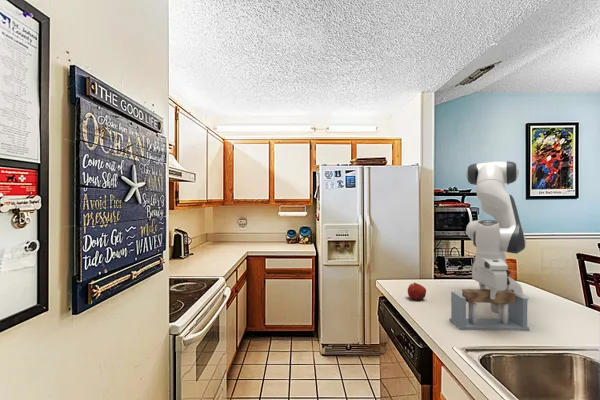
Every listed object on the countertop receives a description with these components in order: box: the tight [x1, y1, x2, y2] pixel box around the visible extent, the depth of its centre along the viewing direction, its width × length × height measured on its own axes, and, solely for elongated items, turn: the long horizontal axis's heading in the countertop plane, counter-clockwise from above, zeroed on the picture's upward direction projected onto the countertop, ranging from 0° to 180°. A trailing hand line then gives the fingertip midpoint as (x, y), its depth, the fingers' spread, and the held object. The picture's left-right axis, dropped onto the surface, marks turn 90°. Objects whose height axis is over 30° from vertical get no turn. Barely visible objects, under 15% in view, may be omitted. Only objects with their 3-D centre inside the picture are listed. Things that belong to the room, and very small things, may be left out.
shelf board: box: [461, 288, 515, 304], centre depth 138 cm, size 18×5×4 cm, turn 88°
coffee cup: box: [490, 278, 510, 314], centre depth 156 cm, size 8×8×15 cm
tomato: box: [407, 282, 427, 301], centre depth 175 cm, size 9×9×8 cm
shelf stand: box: [448, 290, 530, 332], centre depth 138 cm, size 26×10×12 cm, turn 88°
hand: (487, 296), depth 138 cm, fingers closed on shelf board, 5 cm apart
